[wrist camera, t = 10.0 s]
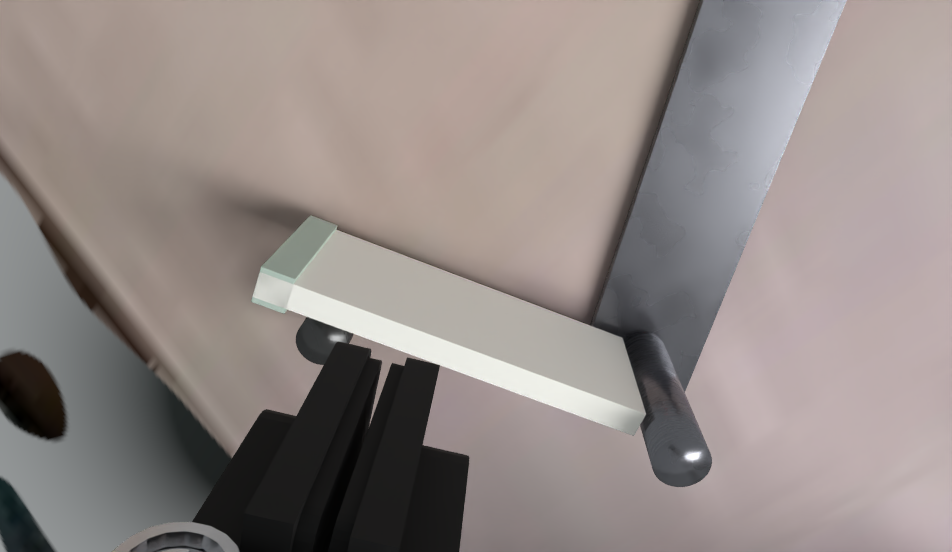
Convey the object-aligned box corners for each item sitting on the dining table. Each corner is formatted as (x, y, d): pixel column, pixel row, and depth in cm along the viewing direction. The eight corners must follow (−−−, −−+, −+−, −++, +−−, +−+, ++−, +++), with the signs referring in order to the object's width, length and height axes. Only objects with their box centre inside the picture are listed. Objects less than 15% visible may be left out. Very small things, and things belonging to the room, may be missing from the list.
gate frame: (671, 413, 33) (720, 545, 25) (319, 329, 32) (254, 437, 24) (881, -99, 24) (1054, -145, 17) (412, -225, 24) (361, -335, 16)
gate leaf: (624, 333, 30) (648, 409, 25) (610, 360, 31) (631, 440, 25) (310, 215, 29) (261, 266, 23) (301, 244, 29) (251, 301, 24)
